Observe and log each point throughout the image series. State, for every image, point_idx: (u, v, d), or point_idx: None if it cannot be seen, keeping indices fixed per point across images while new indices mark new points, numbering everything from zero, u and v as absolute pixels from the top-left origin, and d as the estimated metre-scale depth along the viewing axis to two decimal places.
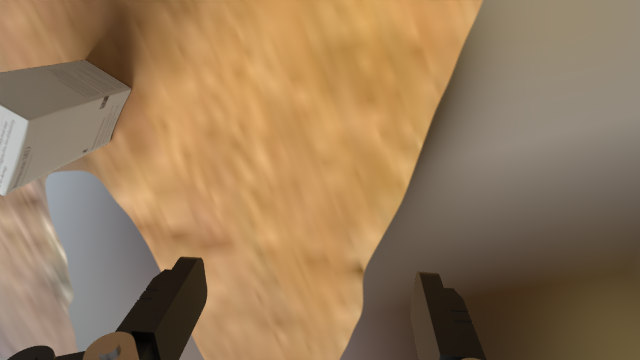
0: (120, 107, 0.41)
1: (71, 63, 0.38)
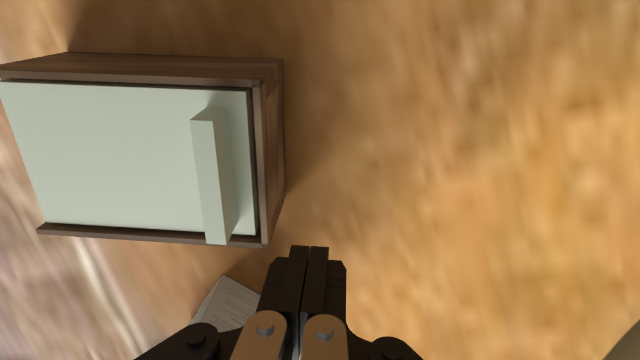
0: None
1: (217, 294, 0.33)
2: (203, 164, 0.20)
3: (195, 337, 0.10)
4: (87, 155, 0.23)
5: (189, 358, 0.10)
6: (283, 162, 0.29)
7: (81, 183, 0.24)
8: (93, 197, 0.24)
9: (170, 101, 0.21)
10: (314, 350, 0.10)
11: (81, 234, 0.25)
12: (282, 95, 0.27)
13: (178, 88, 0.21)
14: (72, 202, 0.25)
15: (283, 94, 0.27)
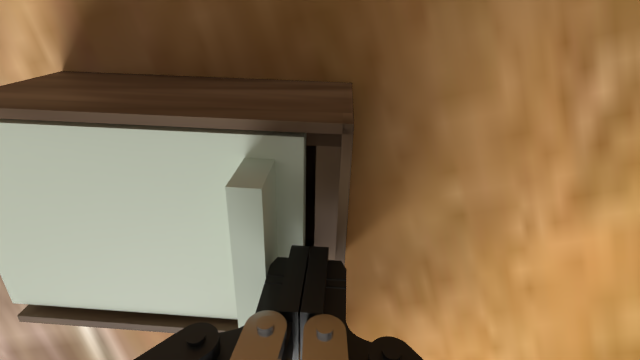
0: None
1: None
2: (244, 248, 0.13)
3: (195, 337, 0.10)
4: (70, 220, 0.16)
5: (189, 358, 0.10)
6: None
7: (61, 256, 0.17)
8: (78, 273, 0.17)
9: (191, 149, 0.14)
10: (314, 350, 0.10)
11: (79, 323, 0.18)
12: None
13: (203, 131, 0.14)
14: (49, 280, 0.18)
15: None
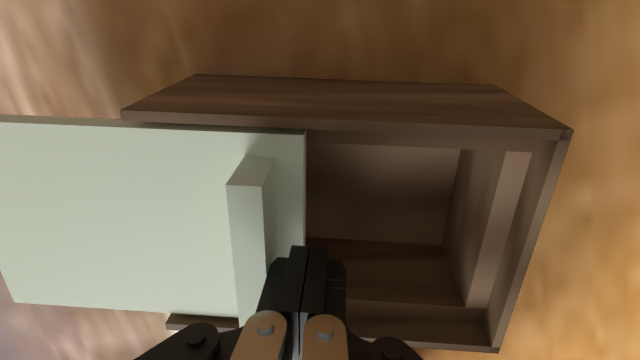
0: None
1: None
2: (244, 246, 0.13)
3: (195, 337, 0.10)
4: (71, 219, 0.16)
5: (189, 358, 0.10)
6: None
7: (62, 255, 0.17)
8: (79, 272, 0.18)
9: (191, 148, 0.14)
10: (314, 350, 0.10)
11: None
12: None
13: (203, 129, 0.14)
14: (51, 279, 0.18)
15: None
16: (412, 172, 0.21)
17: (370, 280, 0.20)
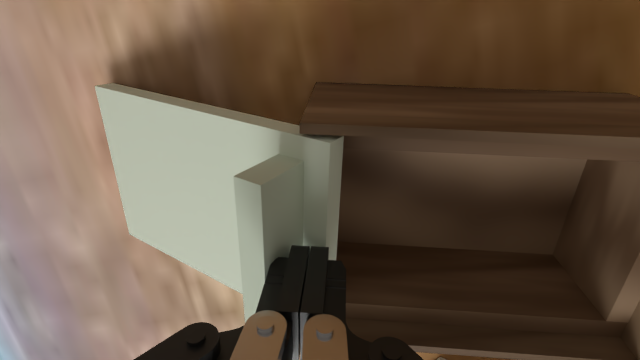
0: None
1: None
2: (247, 239, 0.13)
3: (195, 337, 0.10)
4: (161, 179, 0.20)
5: (189, 358, 0.10)
6: None
7: (155, 207, 0.21)
8: (164, 224, 0.21)
9: (238, 137, 0.15)
10: (314, 350, 0.10)
11: None
12: None
13: (249, 122, 0.15)
14: (148, 223, 0.22)
15: None
16: (533, 181, 0.20)
17: (497, 292, 0.19)
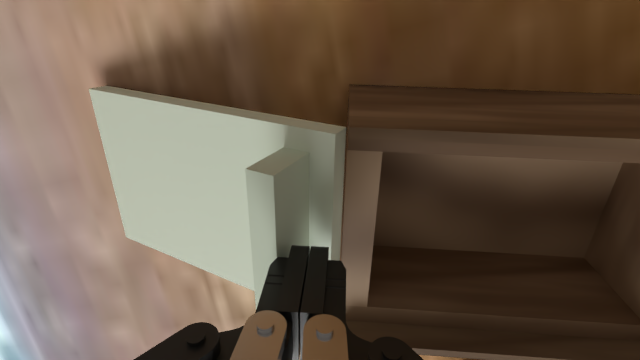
0: None
1: None
2: (259, 230, 0.14)
3: (195, 337, 0.10)
4: (161, 179, 0.20)
5: (189, 358, 0.10)
6: None
7: (154, 207, 0.21)
8: (164, 225, 0.21)
9: (243, 133, 0.16)
10: (314, 350, 0.10)
11: None
12: None
13: (253, 117, 0.15)
14: (147, 225, 0.22)
15: None
16: (567, 184, 0.20)
17: (533, 296, 0.19)
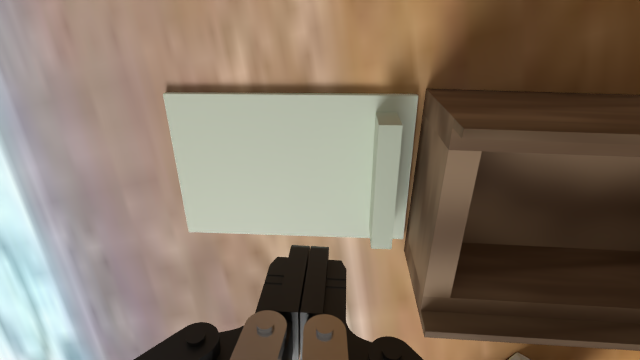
0: None
1: None
2: (384, 169, 0.20)
3: (195, 337, 0.10)
4: (244, 163, 0.23)
5: (189, 358, 0.10)
6: None
7: (233, 192, 0.24)
8: (242, 205, 0.24)
9: (339, 107, 0.21)
10: (314, 350, 0.10)
11: (488, 338, 0.19)
12: None
13: (348, 94, 0.21)
14: (220, 211, 0.25)
15: None
16: (630, 182, 0.21)
17: (603, 287, 0.20)
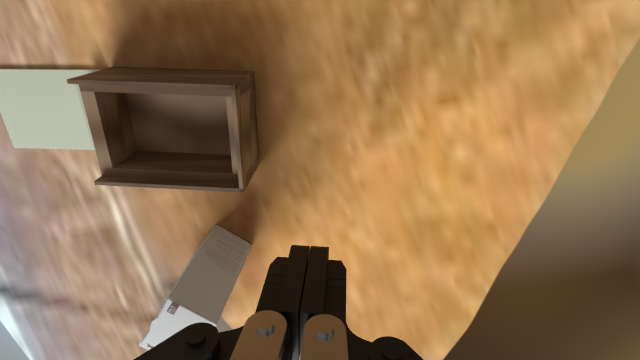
0: None
1: (211, 235, 0.47)
2: None
3: (195, 337, 0.10)
4: (33, 107, 0.44)
5: (189, 358, 0.10)
6: (256, 140, 0.43)
7: (31, 123, 0.45)
8: (38, 131, 0.45)
9: (71, 76, 0.42)
10: (314, 350, 0.10)
11: (123, 184, 0.39)
12: (254, 95, 0.41)
13: (74, 69, 0.41)
14: (27, 135, 0.45)
15: None
16: (221, 115, 0.42)
17: (196, 166, 0.41)
